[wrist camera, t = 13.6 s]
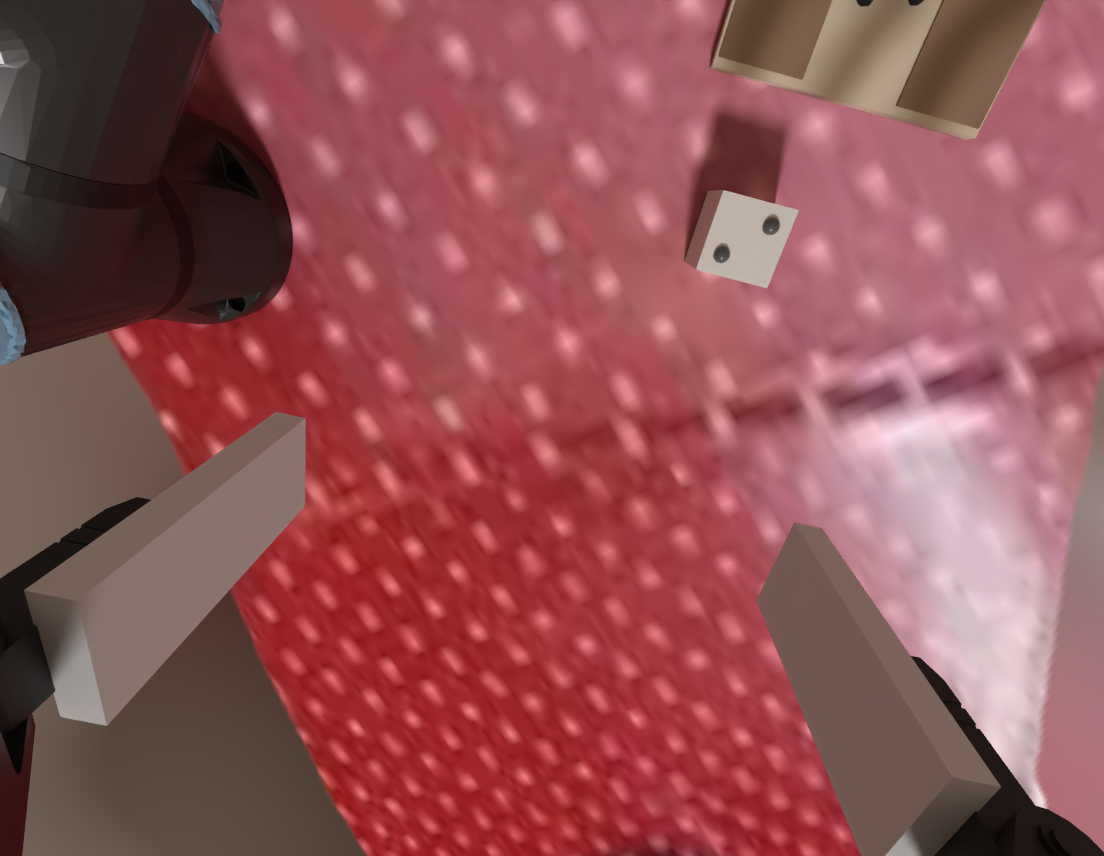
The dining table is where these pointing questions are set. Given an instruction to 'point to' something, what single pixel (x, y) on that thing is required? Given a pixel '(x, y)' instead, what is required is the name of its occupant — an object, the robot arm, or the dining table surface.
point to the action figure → (867, 0)
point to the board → (882, 54)
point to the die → (739, 237)
